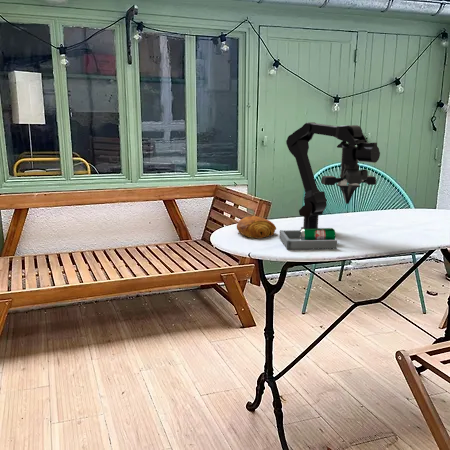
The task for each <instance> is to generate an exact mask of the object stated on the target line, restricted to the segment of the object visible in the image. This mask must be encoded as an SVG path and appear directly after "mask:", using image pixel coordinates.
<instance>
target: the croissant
mask: <svg viewBox="0 0 450 450" xmlns="http://www.w3.org/2000/svg"><path fill="white" fill-rule="evenodd" d="M236 230H237V231H238V232H239V233H241V235H242V236H245V237H248V238H250V239H251V238H252V239H262V238H267V237H272V236H273V235H274V234H275V232H276V230H277V227H276V225H275V224H274V223H273V222H272V221H270V220H269V219H267V218H263V217H260V216H256V215H253V216H252V215H251V216H246V217H244V218H241V219H240V220H238V222H237V223H236Z"/></svg>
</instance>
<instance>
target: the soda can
mask: <svg viewBox="0 0 450 450" xmlns="http://www.w3.org/2000/svg"><path fill="white" fill-rule="evenodd" d="M299 230H300V233H299V238H300V240H336V237H337V235H336V230H335V229H334V228H333V227H323V228H322V227H318V228H303V229H299Z"/></svg>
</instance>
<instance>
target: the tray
mask: <svg viewBox="0 0 450 450" xmlns="http://www.w3.org/2000/svg"><path fill="white" fill-rule="evenodd" d="M300 230H301V229H292V230H291V229H290V230H289V229H288V230H286V229H285V230H284V229H283V230H279V238H278V239H279V240H280V241H281V242H282V244H283V246H284V247H285V249H286V251H295V250H296V251H298V250H299V251H303V250H308V251H309V250H313V251H314V250H338V239H335V240H300V238H299V233H300Z"/></svg>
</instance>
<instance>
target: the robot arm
mask: <svg viewBox="0 0 450 450" xmlns="http://www.w3.org/2000/svg"><path fill="white" fill-rule="evenodd" d="M315 135H322V136H329V137H334V138H335V139H337V140H339V141H340V143H339V144H337V146H336V148H338V149H341V162H340V164H339V165H340V167H341V168H340V174H339V177H336V176H334V175H323V176H322V177H321V180H320V181H321V182H320V183H321V184H322V185H325V186H335V184H336V187H338V188H339V189H340V191H341V195H342V196H343V200H344V203H345V204H346V205H349V204H350V203H351V199H352V197H353V195H354V193H355V191H356V190H357V189H358V188H361V185H360V184H362V183H363V184H366V185H367V186H371V185H372V186H374V185H375V186H376V185H377V178H376V176H373V175H368V173H369V171H368V169H361V170H360V165H359V162H361V163H363V162H364V163H374V164H376V163H377V162H378V161H379V159H380V156H381V152H380V148H379V146H378V142H368V140H367V139H366V137H365V135H364V133H363V129H362V127H361V126H360V125H357V124H354V125H353V124H352V125H348V124H347V125H346V124H345V125H331V124H323V123H317V122H311V121H310V122H309V121H308V122H305V123H304V124H303V125H302V126H300V127H299V128H298V129H296V130H295V131H293V132H292V134H289V135H288V136H287V139H286V141H285V142H286V143H285V144H286V147H287V149H288V151H289V153H290V154H291V155H292V156H293V157H294V158H295V159H294V160H295V162H296V165H297V168H298V171H299V177H300V179H301V183H302V185H303V189H304V195H303V206H302V207H301V208H300V209H298V213H299V216H301V217H303V226H301V227H300V230H302V229H303V228H319V216H321V215H323V214H324V211H325V210H326V207H327V206H328V203H327V202H328V200H327V197H326V193H325V191H321V190H319V189H318V186H317V183H316V180H315V179H316V178H315V175H314V172H313V169H312V165H311V162H310V161H311V160H310V159H309V156H308V153H309V149H310V145H309V144H310V143H309V142H310V141H312V139H313V137H314V136H315Z"/></svg>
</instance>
